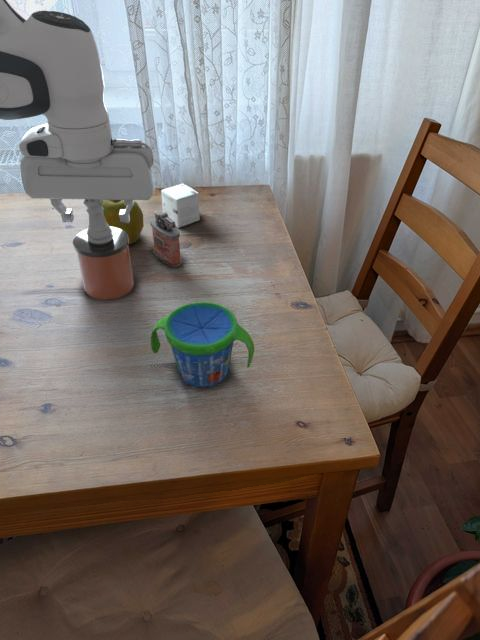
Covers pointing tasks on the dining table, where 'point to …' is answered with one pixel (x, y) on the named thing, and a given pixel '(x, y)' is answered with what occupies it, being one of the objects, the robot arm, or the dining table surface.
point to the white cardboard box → (181, 204)
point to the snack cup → (202, 341)
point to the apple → (113, 219)
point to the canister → (105, 265)
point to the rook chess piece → (97, 223)
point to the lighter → (166, 239)
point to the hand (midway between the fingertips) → (97, 221)
